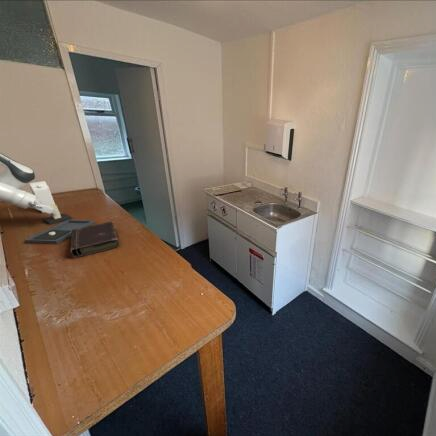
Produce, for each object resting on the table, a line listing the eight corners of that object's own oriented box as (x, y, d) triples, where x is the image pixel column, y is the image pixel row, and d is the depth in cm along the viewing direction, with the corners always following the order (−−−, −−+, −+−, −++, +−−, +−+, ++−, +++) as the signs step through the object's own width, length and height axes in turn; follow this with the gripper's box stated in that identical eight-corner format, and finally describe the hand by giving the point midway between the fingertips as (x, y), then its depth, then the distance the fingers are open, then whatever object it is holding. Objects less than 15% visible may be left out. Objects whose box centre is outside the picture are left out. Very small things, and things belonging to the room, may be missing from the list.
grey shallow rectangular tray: (26, 243, 115) (24, 240, 115) (68, 222, 138) (68, 219, 138) (57, 243, 116) (56, 240, 115) (94, 223, 139) (93, 220, 138)
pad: (33, 240, 117) (32, 236, 116) (52, 231, 126) (50, 228, 125) (54, 241, 117) (52, 237, 116) (71, 232, 126) (69, 228, 125)
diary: (72, 259, 105) (68, 249, 103) (73, 237, 122) (70, 229, 120) (121, 246, 116) (119, 238, 114) (116, 228, 133) (114, 220, 131)
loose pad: (49, 224, 135) (43, 209, 131) (43, 220, 139) (37, 205, 136) (71, 218, 143) (66, 204, 139) (65, 215, 147) (59, 201, 144)
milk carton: (39, 210, 152) (27, 182, 145) (54, 207, 158) (43, 180, 150) (42, 213, 149) (30, 184, 141) (57, 210, 154) (46, 182, 147)
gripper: (37, 199, 124) (66, 211, 136) (24, 192, 134) (53, 203, 145) (28, 209, 122) (59, 220, 134) (16, 201, 132) (46, 212, 143)
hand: (56, 211), depth 140 cm, fingers open, 7 cm apart
